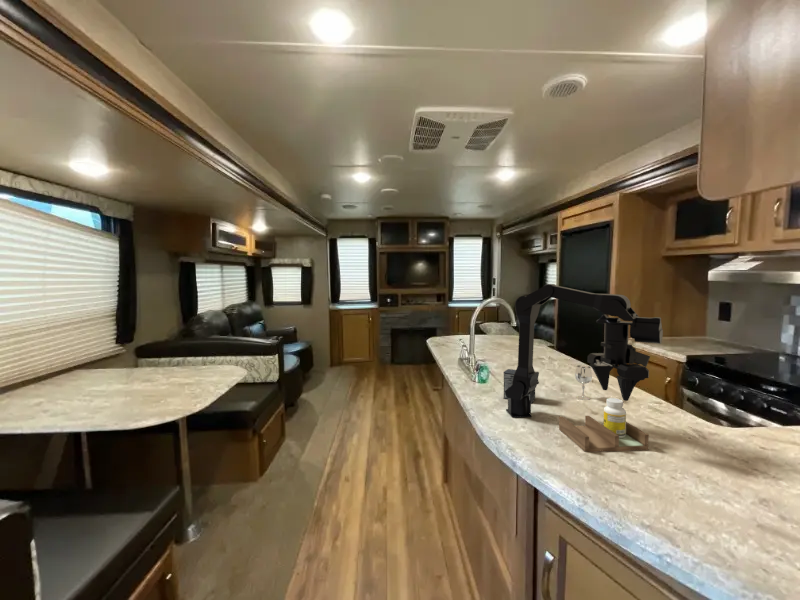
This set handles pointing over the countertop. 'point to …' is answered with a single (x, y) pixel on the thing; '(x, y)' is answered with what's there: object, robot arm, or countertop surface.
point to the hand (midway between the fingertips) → (614, 395)
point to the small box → (508, 383)
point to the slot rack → (603, 436)
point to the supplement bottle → (615, 417)
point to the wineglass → (583, 378)
